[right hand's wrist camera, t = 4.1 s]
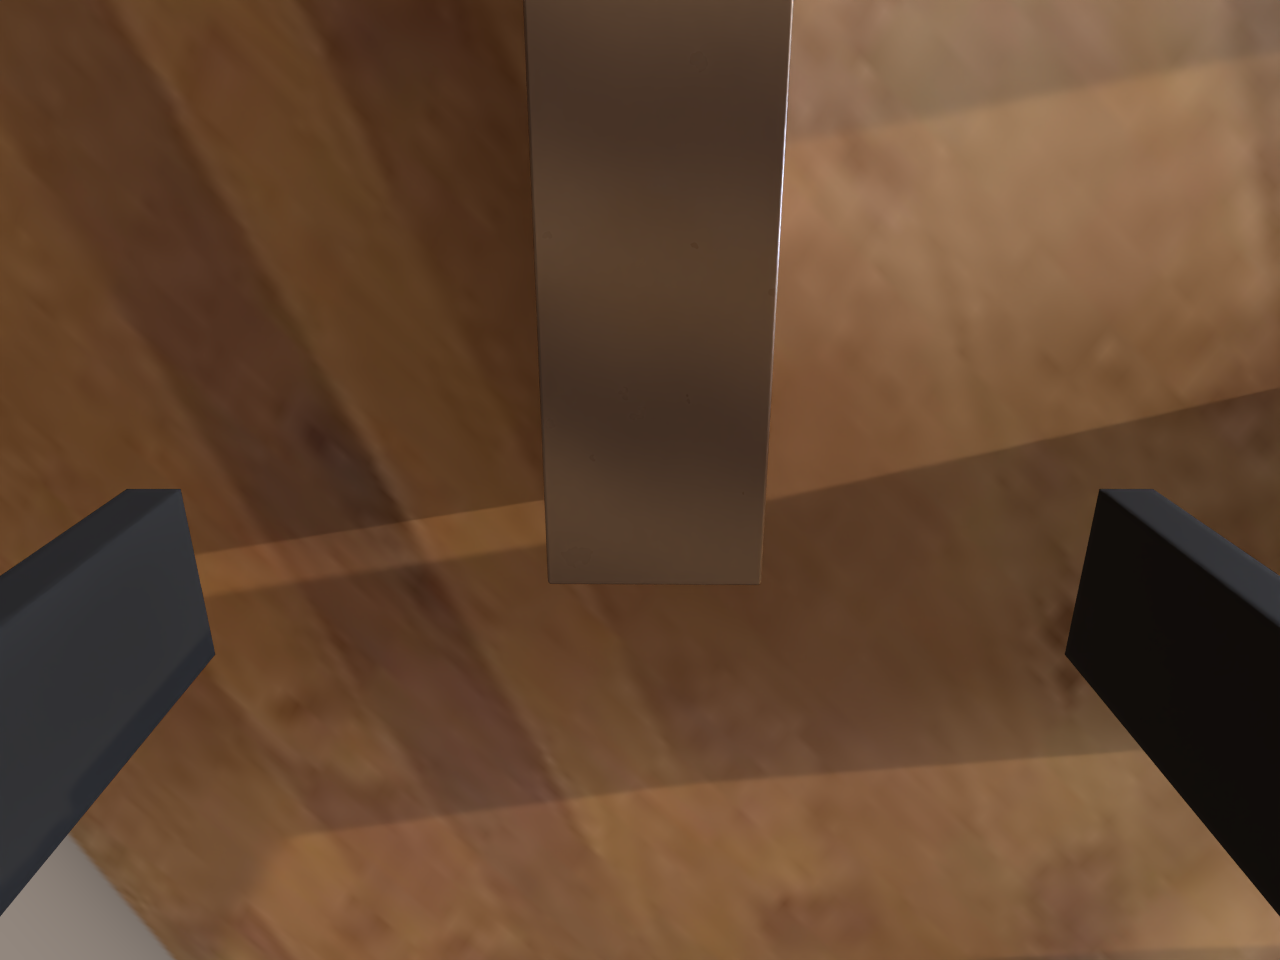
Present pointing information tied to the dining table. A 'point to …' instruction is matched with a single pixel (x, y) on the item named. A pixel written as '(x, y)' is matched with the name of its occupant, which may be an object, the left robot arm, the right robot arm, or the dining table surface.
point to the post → (656, 280)
